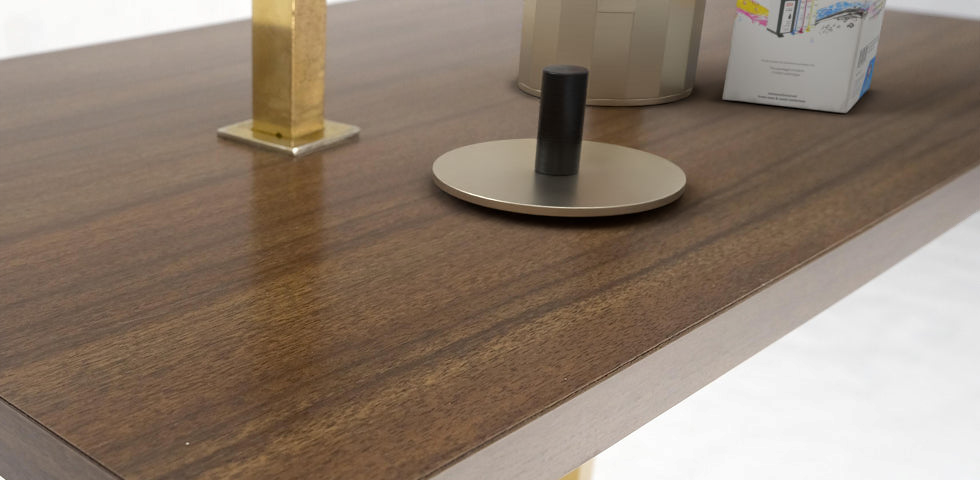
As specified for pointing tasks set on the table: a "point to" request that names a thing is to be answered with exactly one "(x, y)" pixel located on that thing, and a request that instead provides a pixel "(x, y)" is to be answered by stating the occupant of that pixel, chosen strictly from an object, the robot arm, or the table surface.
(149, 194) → the table surface
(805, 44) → the ink box
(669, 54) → the pot
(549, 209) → the lid
